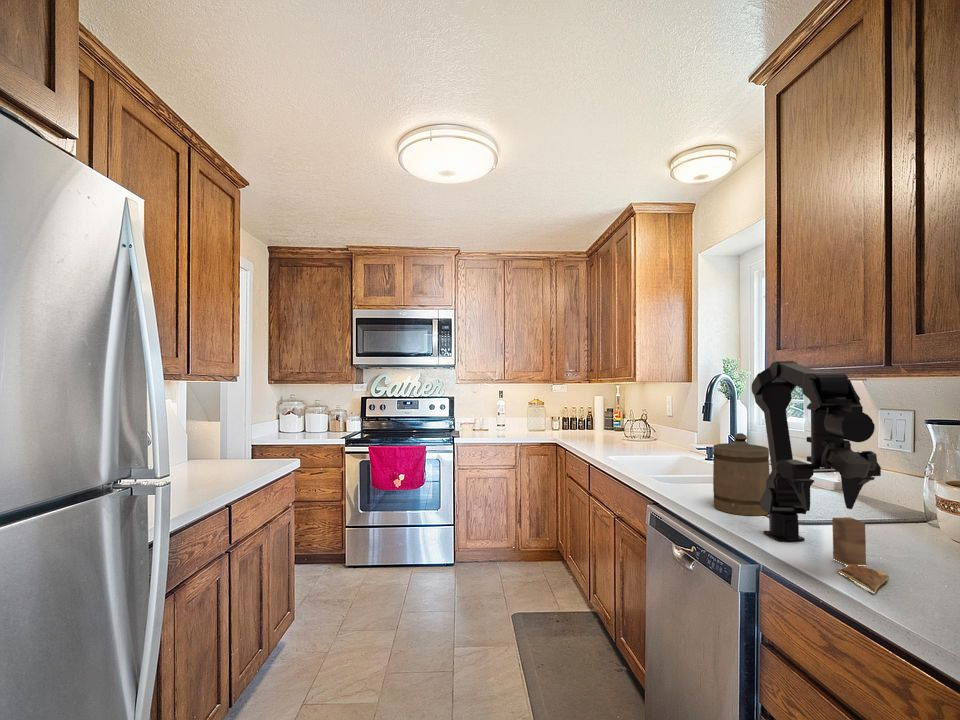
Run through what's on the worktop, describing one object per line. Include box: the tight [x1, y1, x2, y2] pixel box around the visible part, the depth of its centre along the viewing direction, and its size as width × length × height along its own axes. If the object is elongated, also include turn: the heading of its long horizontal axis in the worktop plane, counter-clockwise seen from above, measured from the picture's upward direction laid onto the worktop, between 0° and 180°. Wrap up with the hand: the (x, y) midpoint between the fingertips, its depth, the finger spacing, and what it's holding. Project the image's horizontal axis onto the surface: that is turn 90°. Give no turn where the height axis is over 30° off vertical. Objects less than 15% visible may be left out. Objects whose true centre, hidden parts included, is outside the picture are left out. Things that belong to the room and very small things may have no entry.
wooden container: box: [712, 432, 770, 517], centre depth 151 cm, size 15×15×22 cm
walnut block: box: [831, 516, 867, 566], centre depth 109 cm, size 4×4×9 cm
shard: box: [837, 564, 890, 592], centre depth 100 cm, size 11×8×2 cm
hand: (828, 509), depth 106 cm, fingers open, 9 cm apart
